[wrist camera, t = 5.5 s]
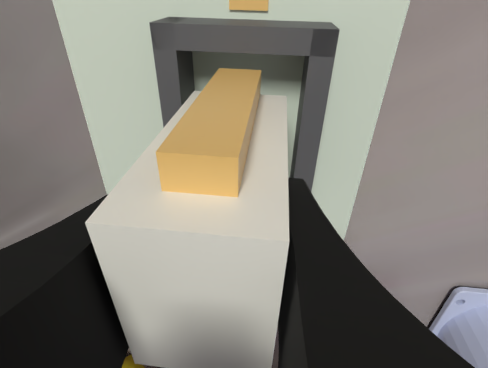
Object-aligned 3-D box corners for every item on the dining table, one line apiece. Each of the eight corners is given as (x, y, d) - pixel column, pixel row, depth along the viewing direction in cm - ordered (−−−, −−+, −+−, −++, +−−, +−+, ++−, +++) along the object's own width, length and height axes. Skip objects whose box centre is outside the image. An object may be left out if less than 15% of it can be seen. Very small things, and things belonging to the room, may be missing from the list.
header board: (329, 270, 19) (337, 319, 17) (132, 250, 20) (108, 293, 18) (412, -44, 10) (459, -54, 8) (55, -50, 12) (-19, -61, 9)
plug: (276, 199, 13) (269, 381, 7) (201, 193, 13) (134, 363, 7) (289, 71, 10) (295, 198, 4) (192, 66, 10) (69, 179, 4)
